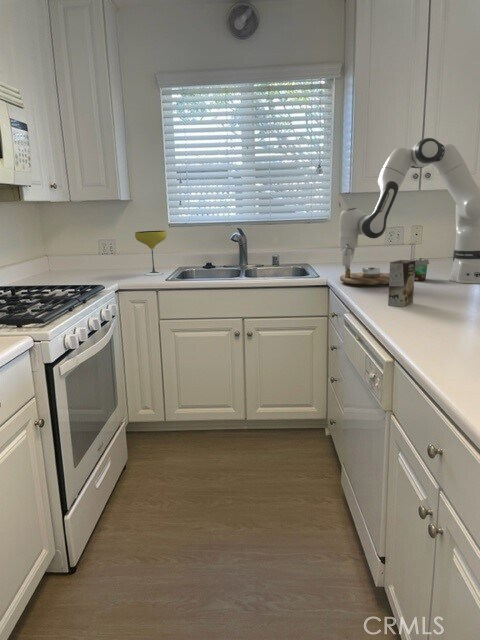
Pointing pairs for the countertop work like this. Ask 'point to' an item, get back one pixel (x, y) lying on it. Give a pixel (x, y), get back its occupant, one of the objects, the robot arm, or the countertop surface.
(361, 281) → the turntable
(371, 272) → the cover
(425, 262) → the food container
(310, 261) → the countertop surface
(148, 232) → the cocktail glass
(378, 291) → the countertop surface
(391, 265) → the coffee box
